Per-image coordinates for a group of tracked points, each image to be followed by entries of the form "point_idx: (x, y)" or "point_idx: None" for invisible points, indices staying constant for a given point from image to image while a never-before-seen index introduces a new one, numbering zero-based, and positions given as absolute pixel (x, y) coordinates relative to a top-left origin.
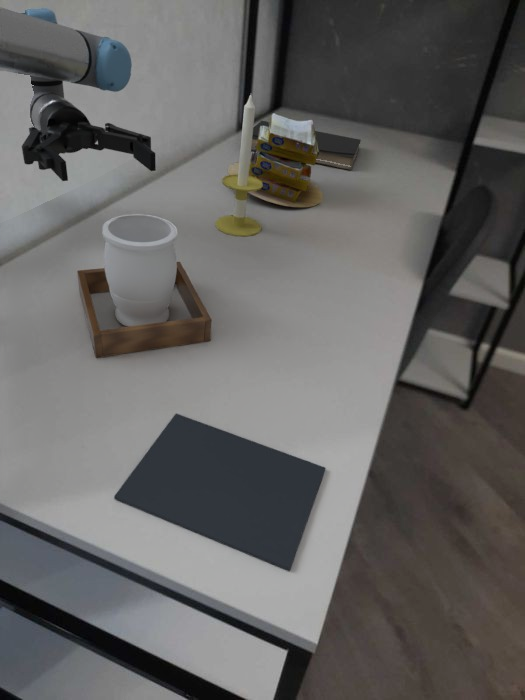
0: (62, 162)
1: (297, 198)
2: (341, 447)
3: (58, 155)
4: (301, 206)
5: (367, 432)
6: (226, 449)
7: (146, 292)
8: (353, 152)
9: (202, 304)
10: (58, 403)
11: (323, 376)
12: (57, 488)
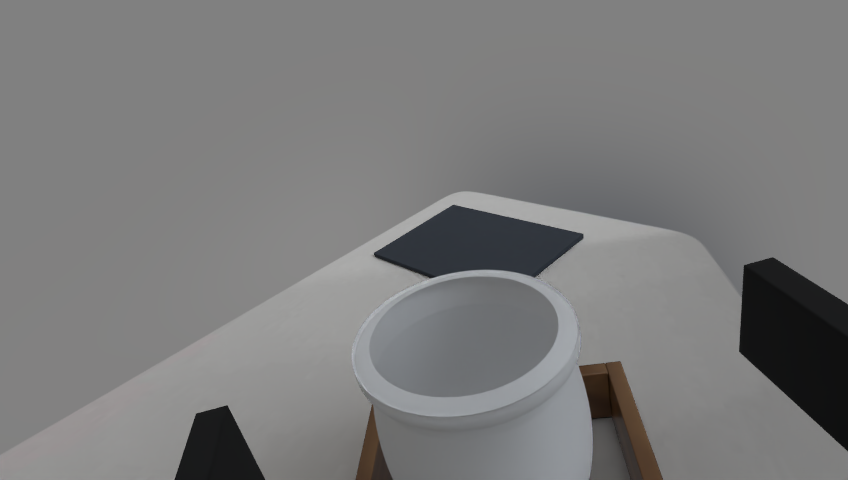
0: (761, 261)
1: None
2: (340, 272)
3: (837, 322)
4: None
5: (300, 284)
6: (458, 265)
7: (491, 375)
8: None
9: (367, 434)
10: (672, 325)
11: (272, 348)
12: (644, 244)
